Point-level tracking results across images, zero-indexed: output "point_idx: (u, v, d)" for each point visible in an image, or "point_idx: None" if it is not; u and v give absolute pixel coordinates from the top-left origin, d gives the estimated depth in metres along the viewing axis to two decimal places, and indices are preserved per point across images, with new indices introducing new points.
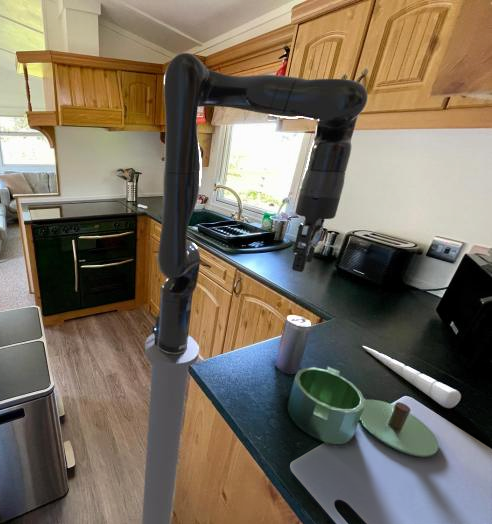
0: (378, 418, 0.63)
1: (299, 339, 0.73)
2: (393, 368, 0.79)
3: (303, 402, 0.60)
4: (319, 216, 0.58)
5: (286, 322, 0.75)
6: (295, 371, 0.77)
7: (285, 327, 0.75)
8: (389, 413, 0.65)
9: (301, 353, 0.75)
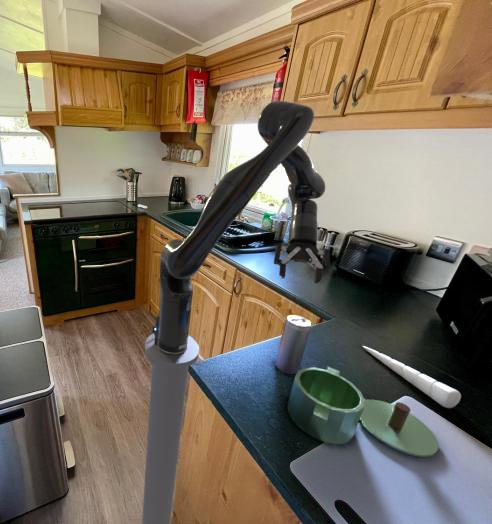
0: (378, 418, 0.63)
1: (299, 339, 0.73)
2: (393, 368, 0.79)
3: (303, 402, 0.60)
4: None
5: (286, 322, 0.75)
6: (295, 371, 0.77)
7: (285, 327, 0.75)
8: (389, 413, 0.65)
9: (301, 353, 0.75)
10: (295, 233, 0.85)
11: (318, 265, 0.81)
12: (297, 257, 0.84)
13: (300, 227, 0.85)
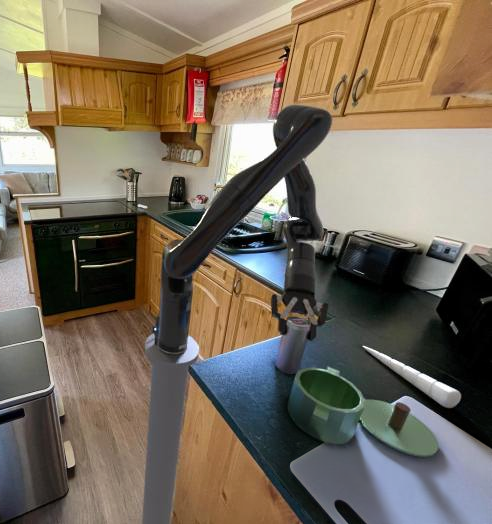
0: (378, 418, 0.63)
1: (299, 339, 0.73)
2: (393, 368, 0.79)
3: (303, 402, 0.60)
4: None
5: (286, 322, 0.75)
6: (295, 371, 0.77)
7: (285, 327, 0.75)
8: (389, 413, 0.65)
9: (301, 353, 0.75)
10: (291, 281, 0.78)
11: (313, 320, 0.74)
12: (294, 309, 0.76)
13: (297, 275, 0.78)
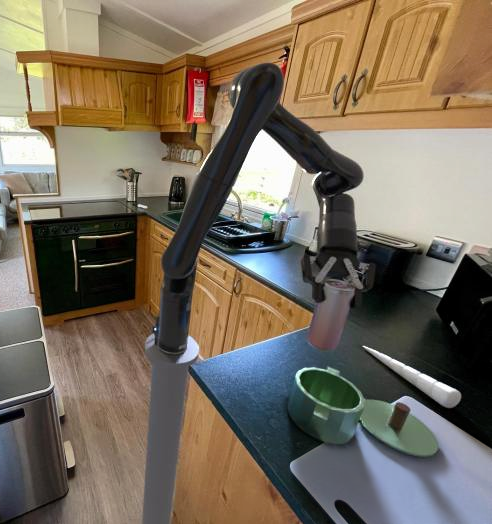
0: (378, 418, 0.63)
1: (340, 306, 0.58)
2: (393, 368, 0.79)
3: (303, 402, 0.60)
4: None
5: (323, 286, 0.60)
6: (333, 348, 0.62)
7: (322, 293, 0.61)
8: (389, 413, 0.65)
9: (342, 325, 0.60)
10: (328, 238, 0.63)
11: (357, 284, 0.59)
12: (332, 271, 0.62)
13: (335, 230, 0.63)
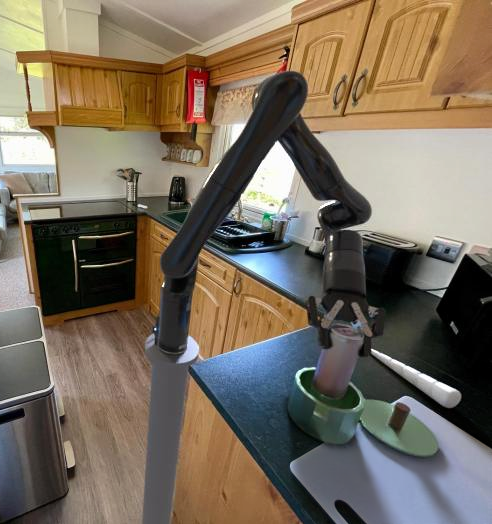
0: (378, 418, 0.63)
1: (348, 355, 0.55)
2: (393, 368, 0.79)
3: (303, 402, 0.60)
4: None
5: (330, 333, 0.57)
6: (341, 396, 0.59)
7: None
8: (389, 413, 0.65)
9: (350, 373, 0.57)
10: (334, 279, 0.60)
11: (366, 331, 0.56)
12: (339, 315, 0.59)
13: (342, 271, 0.60)
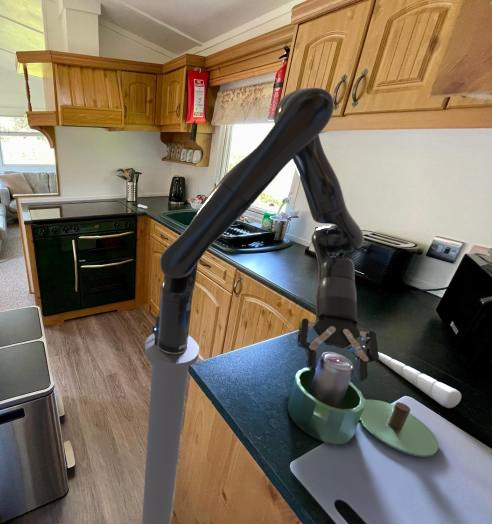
0: (378, 418, 0.63)
1: (339, 384, 0.58)
2: (393, 368, 0.79)
3: (303, 402, 0.60)
4: None
5: (321, 362, 0.60)
6: None
7: (320, 368, 0.60)
8: (389, 413, 0.65)
9: (340, 401, 0.59)
10: (327, 305, 0.62)
11: (362, 356, 0.58)
12: (331, 341, 0.61)
13: (334, 298, 0.62)
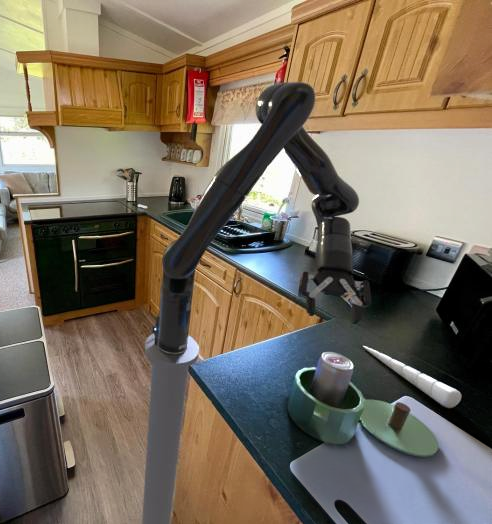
0: (378, 418, 0.63)
1: (339, 384, 0.58)
2: (394, 368, 0.79)
3: (303, 402, 0.60)
4: None
5: (321, 362, 0.60)
6: None
7: (320, 368, 0.60)
8: (389, 413, 0.65)
9: (340, 401, 0.59)
10: (325, 259, 0.69)
11: (356, 301, 0.65)
12: (329, 290, 0.67)
13: (332, 252, 0.69)
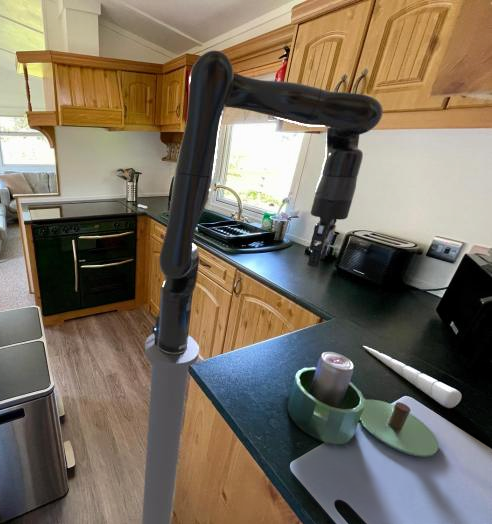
0: (378, 418, 0.63)
1: (339, 384, 0.58)
2: (394, 368, 0.79)
3: (303, 402, 0.60)
4: (333, 217, 0.65)
5: (321, 362, 0.60)
6: None
7: (320, 368, 0.60)
8: (389, 413, 0.65)
9: (340, 401, 0.59)
10: None
11: None
12: None
13: None
